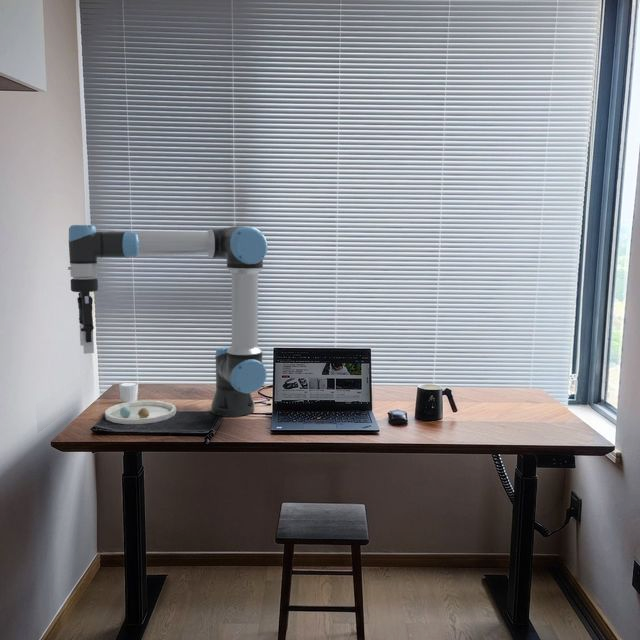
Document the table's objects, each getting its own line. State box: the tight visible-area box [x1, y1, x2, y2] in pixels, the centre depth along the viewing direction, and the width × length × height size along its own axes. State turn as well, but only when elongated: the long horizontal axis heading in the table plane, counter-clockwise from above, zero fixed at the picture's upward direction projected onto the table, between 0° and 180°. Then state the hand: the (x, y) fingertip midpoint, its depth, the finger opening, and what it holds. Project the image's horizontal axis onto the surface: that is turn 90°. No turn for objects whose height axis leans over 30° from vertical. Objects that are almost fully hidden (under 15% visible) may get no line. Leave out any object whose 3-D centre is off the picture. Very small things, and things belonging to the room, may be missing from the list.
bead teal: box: [120, 407, 131, 417], centre depth 213 cm, size 4×4×4 cm
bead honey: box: [138, 408, 149, 418], centre depth 212 cm, size 4×4×4 cm
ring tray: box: [104, 400, 177, 425], centre depth 217 cm, size 23×23×2 cm
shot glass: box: [118, 381, 139, 403], centre depth 234 cm, size 7×7×7 cm
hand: (86, 349), depth 190 cm, fingers open, 13 cm apart
